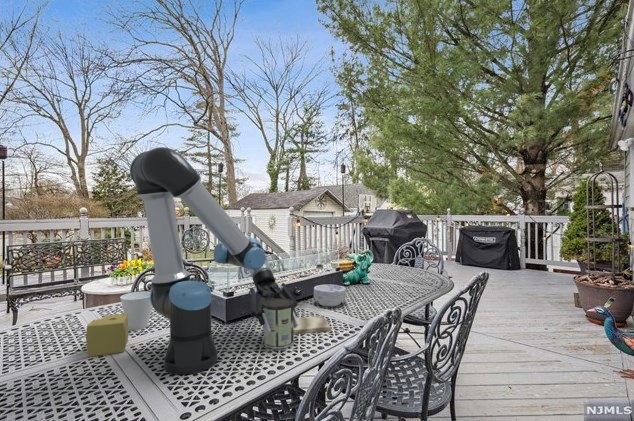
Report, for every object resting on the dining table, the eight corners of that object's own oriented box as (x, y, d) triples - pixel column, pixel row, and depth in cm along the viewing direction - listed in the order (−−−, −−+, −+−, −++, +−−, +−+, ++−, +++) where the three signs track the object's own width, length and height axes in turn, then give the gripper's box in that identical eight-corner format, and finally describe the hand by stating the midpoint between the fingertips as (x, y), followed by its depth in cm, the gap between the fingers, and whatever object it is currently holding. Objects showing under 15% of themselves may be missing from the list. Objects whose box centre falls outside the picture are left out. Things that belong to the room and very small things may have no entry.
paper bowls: (345, 299, 170) (345, 283, 170) (345, 309, 155) (345, 291, 155) (315, 299, 172) (315, 283, 171) (311, 308, 156) (311, 291, 156)
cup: (123, 335, 125) (123, 301, 125) (117, 326, 134) (117, 294, 134) (158, 327, 132) (158, 295, 132) (150, 319, 142) (150, 289, 141)
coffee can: (276, 335, 125) (276, 296, 124) (299, 341, 119) (299, 300, 119) (257, 345, 116) (256, 303, 116) (281, 352, 110) (281, 308, 110)
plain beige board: (282, 334, 125) (282, 330, 125) (279, 322, 137) (279, 319, 137) (330, 331, 128) (330, 327, 128) (322, 319, 141) (322, 315, 141)
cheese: (94, 345, 116) (93, 316, 116) (130, 340, 120) (129, 312, 120) (85, 358, 106) (85, 326, 106) (125, 353, 110) (124, 322, 110)
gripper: (285, 277, 136) (307, 328, 123) (230, 284, 123) (248, 342, 111) (291, 265, 132) (315, 317, 119) (235, 272, 119) (255, 331, 106)
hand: (283, 329), depth 115 cm, fingers closed on coffee can, 10 cm apart
